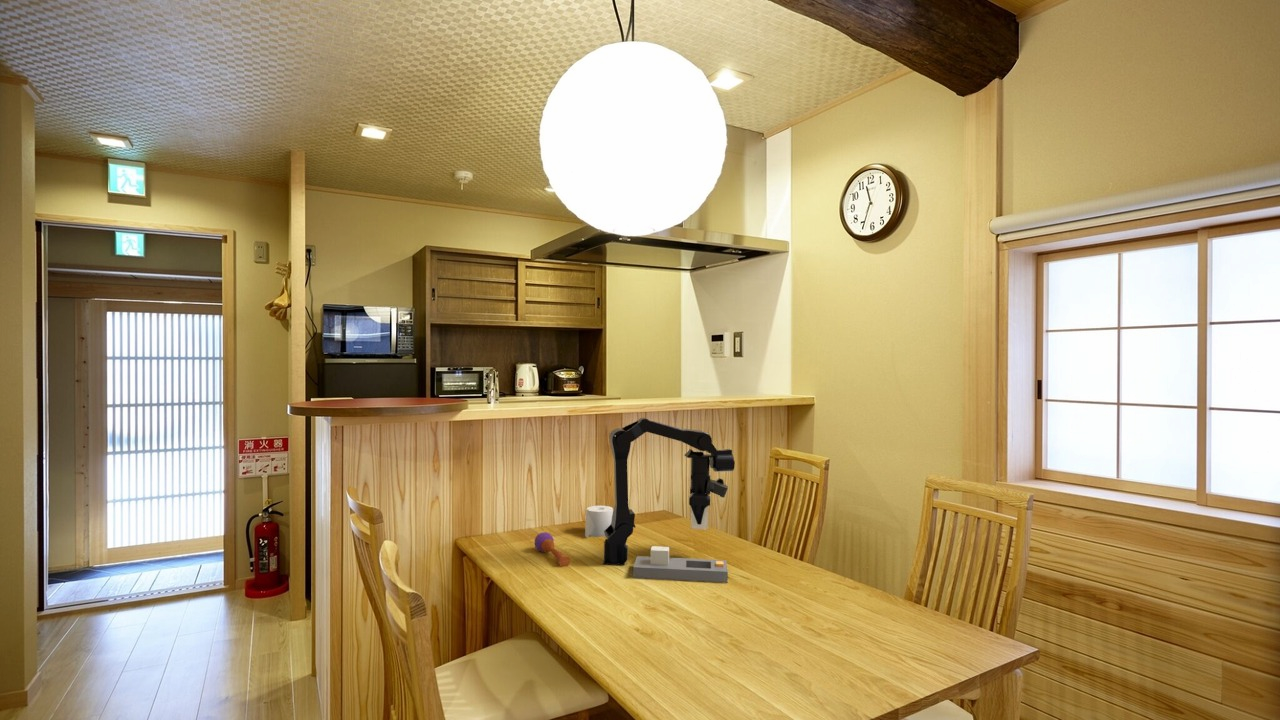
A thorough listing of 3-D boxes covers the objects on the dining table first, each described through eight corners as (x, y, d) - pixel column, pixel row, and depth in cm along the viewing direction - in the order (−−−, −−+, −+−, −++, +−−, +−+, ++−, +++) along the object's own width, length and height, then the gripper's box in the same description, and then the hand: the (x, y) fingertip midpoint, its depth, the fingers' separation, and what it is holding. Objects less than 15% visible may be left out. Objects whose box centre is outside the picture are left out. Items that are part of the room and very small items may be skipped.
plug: (691, 528, 190) (691, 505, 190) (691, 525, 194) (691, 503, 194) (707, 529, 189) (707, 506, 189) (707, 526, 193) (707, 503, 193)
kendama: (553, 555, 180) (530, 533, 197) (556, 574, 181) (533, 550, 198) (572, 548, 183) (548, 527, 200) (575, 567, 184) (550, 544, 201)
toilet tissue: (583, 539, 209) (583, 514, 209) (588, 529, 223) (588, 505, 223) (610, 540, 209) (610, 514, 209) (613, 529, 222) (613, 505, 222)
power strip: (633, 577, 173) (633, 552, 173) (637, 566, 183) (637, 542, 183) (727, 582, 170) (727, 557, 170) (726, 570, 180) (726, 546, 180)
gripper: (727, 478, 182) (726, 531, 181) (725, 467, 200) (724, 516, 200) (689, 476, 183) (688, 530, 183) (690, 466, 201) (689, 514, 201)
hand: (699, 522), depth 192 cm, fingers closed on plug, 4 cm apart
